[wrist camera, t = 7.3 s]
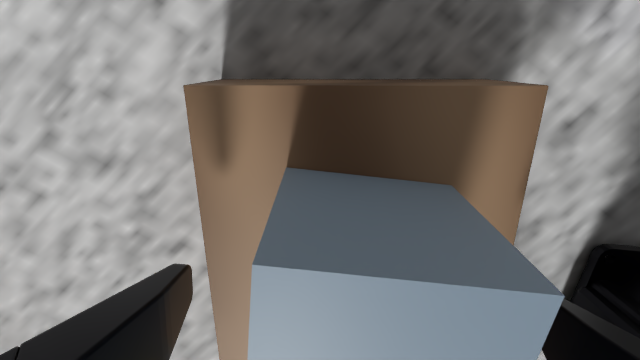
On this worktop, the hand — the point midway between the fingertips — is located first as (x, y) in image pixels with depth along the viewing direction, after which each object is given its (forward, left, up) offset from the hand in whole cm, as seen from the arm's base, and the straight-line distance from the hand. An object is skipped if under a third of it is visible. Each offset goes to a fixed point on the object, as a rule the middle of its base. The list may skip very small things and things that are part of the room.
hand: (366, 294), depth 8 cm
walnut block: (0, 0, -6) cm, 6 cm away
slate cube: (0, 0, -2) cm, 2 cm away
